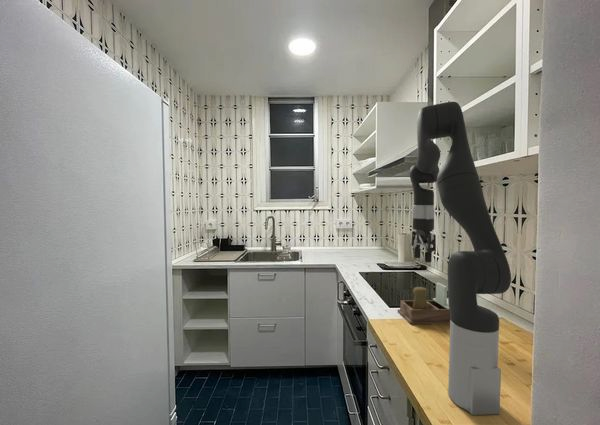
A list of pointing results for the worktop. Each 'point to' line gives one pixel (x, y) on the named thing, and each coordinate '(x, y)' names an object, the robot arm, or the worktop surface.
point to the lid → (441, 295)
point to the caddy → (424, 313)
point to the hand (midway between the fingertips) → (422, 260)
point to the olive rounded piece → (420, 298)
